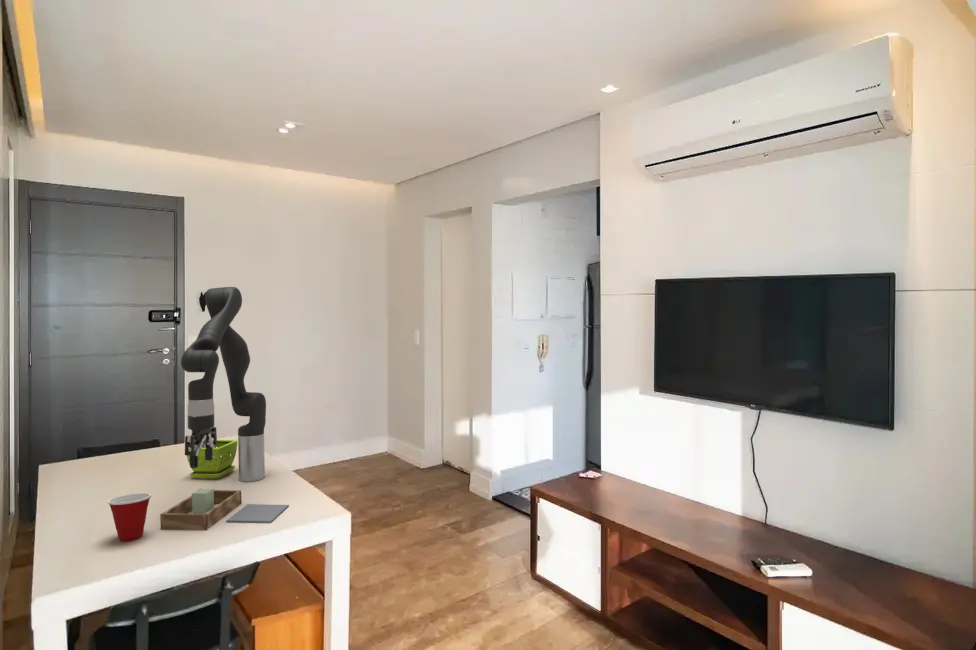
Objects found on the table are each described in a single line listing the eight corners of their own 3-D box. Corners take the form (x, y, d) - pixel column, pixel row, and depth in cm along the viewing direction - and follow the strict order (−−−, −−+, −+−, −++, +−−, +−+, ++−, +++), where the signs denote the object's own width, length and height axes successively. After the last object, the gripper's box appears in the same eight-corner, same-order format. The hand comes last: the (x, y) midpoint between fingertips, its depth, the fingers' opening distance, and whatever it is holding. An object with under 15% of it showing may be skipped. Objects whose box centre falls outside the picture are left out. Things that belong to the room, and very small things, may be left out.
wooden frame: (200, 503, 192) (200, 489, 191) (241, 503, 191) (241, 490, 191) (160, 529, 170) (160, 514, 169) (206, 530, 169) (206, 515, 169)
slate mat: (247, 505, 189) (247, 504, 189) (288, 506, 188) (288, 504, 188) (226, 522, 175) (226, 520, 175) (270, 523, 174) (270, 521, 174)
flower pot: (239, 470, 228) (238, 439, 228) (219, 481, 214) (219, 448, 214) (206, 469, 230) (205, 438, 229) (184, 480, 216) (184, 447, 215)
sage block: (200, 513, 183) (199, 488, 182) (214, 513, 183) (213, 488, 182) (192, 518, 178) (191, 493, 178) (206, 518, 178) (206, 493, 178)
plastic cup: (152, 527, 171) (151, 487, 171) (152, 540, 162) (151, 498, 161) (109, 534, 166) (108, 494, 165) (106, 548, 156) (105, 505, 156)
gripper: (201, 408, 186) (202, 457, 187) (176, 417, 172) (176, 470, 173) (224, 409, 186) (224, 458, 187) (200, 417, 172) (200, 470, 172)
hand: (201, 463), depth 180 cm, fingers open, 8 cm apart
